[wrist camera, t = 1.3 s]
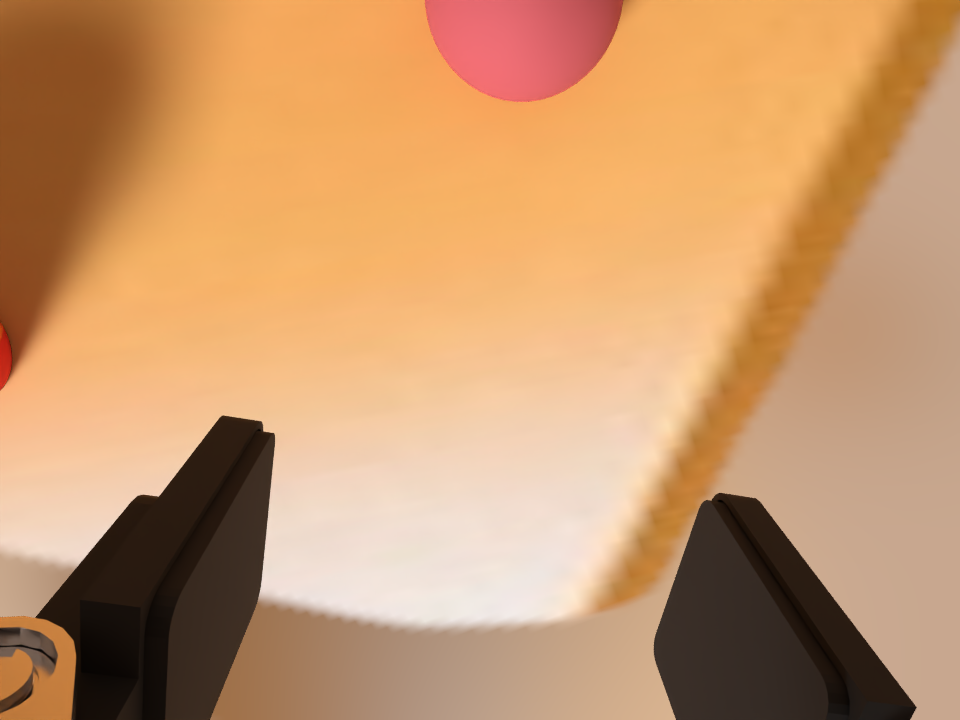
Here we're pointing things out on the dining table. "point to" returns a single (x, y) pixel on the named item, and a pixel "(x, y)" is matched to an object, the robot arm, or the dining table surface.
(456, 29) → the ball
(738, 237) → the dining table surface
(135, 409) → the dining table surface
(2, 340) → the paper cup
